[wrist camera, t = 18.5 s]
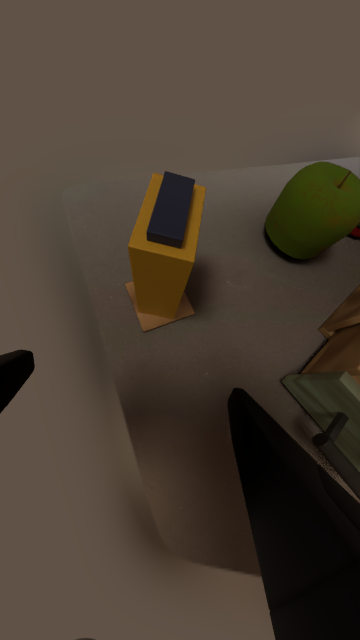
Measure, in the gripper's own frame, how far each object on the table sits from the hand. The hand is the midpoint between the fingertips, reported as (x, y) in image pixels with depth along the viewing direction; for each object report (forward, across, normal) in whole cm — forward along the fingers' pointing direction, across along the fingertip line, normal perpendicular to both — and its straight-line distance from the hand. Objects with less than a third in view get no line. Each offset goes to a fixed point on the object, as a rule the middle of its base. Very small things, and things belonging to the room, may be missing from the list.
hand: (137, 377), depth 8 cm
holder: (+17, 0, 0) cm, 17 cm away
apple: (+28, -19, -10) cm, 35 cm away
